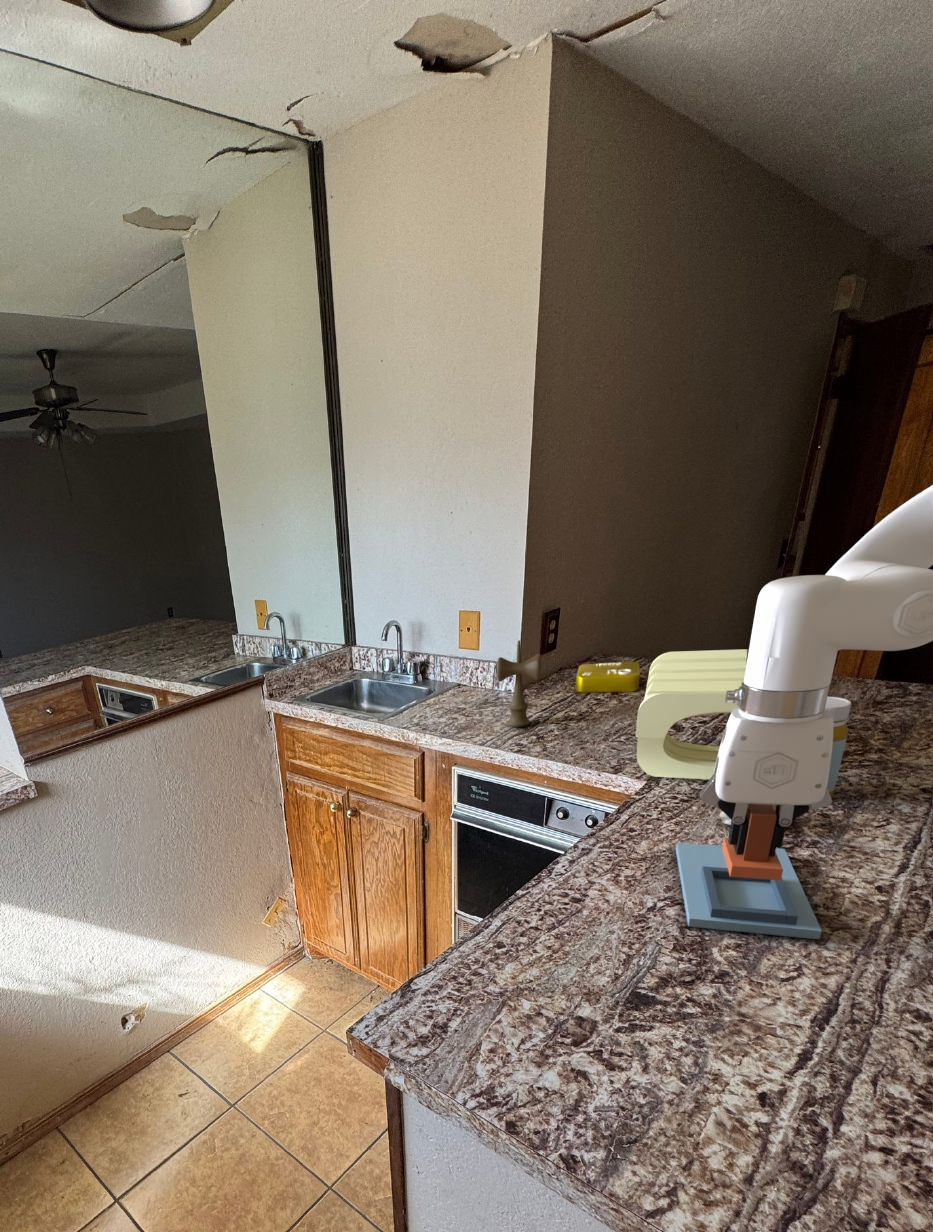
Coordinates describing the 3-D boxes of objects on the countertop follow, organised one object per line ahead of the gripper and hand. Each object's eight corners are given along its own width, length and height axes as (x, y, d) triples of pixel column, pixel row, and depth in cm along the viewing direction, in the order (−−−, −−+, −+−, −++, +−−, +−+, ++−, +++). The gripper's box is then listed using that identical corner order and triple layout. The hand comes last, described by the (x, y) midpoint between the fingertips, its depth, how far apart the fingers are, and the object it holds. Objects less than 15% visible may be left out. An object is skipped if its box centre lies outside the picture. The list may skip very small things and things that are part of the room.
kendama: (539, 728, 151) (541, 641, 142) (496, 730, 154) (495, 644, 145) (540, 720, 156) (542, 635, 147) (498, 722, 159) (497, 639, 150)
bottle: (778, 798, 105) (796, 707, 98) (780, 782, 110) (797, 695, 103) (833, 803, 101) (855, 709, 94) (832, 786, 106) (854, 696, 99)
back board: (783, 856, 90) (786, 840, 89) (819, 939, 74) (824, 922, 72) (675, 850, 95) (677, 835, 94) (688, 926, 79) (690, 910, 78)
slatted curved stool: (642, 737, 136) (651, 652, 129) (732, 740, 129) (747, 649, 121) (630, 793, 114) (639, 693, 106) (738, 800, 106) (756, 692, 98)
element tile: (638, 677, 177) (639, 659, 175) (638, 692, 165) (640, 673, 163) (578, 679, 184) (579, 662, 181) (575, 693, 172) (575, 675, 170)
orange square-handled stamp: (769, 852, 80) (780, 796, 77) (780, 880, 75) (793, 822, 71) (721, 849, 82) (731, 795, 79) (729, 876, 77) (740, 819, 73)
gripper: (699, 711, 70) (678, 860, 78) (889, 708, 63) (845, 871, 71) (692, 692, 76) (673, 832, 84) (865, 688, 69) (827, 840, 77)
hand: (752, 849), depth 78 cm, fingers closed on orange square-handled stamp, 2 cm apart
